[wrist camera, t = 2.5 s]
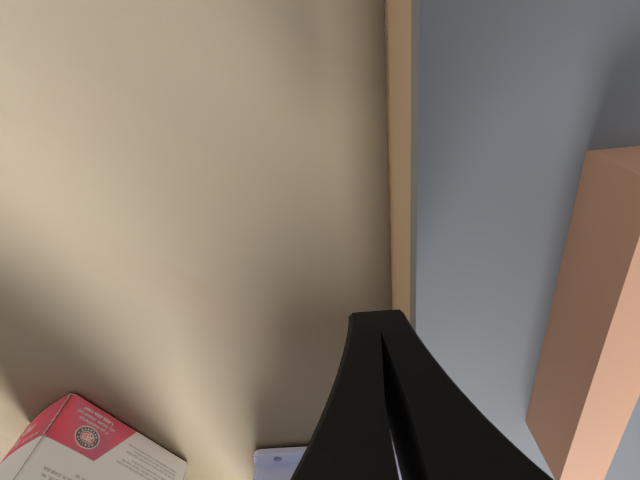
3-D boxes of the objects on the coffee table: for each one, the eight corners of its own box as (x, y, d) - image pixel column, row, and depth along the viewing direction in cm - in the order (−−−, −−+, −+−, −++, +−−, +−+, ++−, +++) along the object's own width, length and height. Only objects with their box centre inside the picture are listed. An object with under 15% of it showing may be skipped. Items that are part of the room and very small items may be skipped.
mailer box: (393, 377, 20) (412, 473, 16) (383, -37, 12) (418, -78, 7) (671, 359, 19) (773, 454, 15) (879, -103, 11) (1255, -195, 6)
